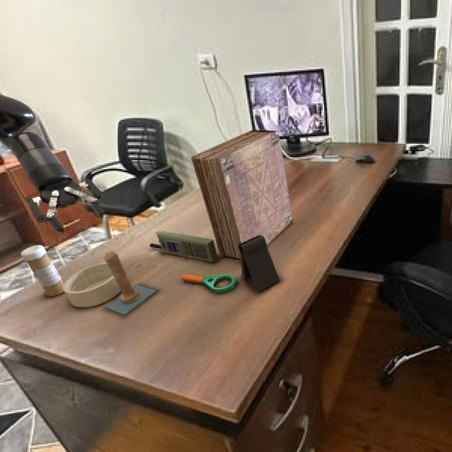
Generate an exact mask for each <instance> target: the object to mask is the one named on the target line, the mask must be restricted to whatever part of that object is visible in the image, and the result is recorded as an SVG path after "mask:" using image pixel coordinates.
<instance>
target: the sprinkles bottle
mask: <svg viewBox="0 0 452 452" xmlns="http://www.w3.org/2000/svg"><path fill="white" fill-rule="evenodd" d="M44 247H45V246H43V245H40V244H37V245H33V246H30V247H27V248H25V249H24V250H22V251H21V252H20V256H21V257H22V259H23V261H25V262H26V264H27V265H28V267H29V268H30V270H31V271H32V273H33V274H34V276H35V278H36V280H37V282H38V283H39V285H40V286H41V287H42V288H43V290H44V292H45V293H46V295H47V296H48V297H55V296H58V295H61V294H62V293H63V292H64V290H63V285H64V283H65V281H63V279H62V277H61V275H60V274H59V272H58V270H57V268H56V267H55V265H54V264H53V262H52V260H51V259H50V257H49V256H48V254H47V250H46V249H45V248H44Z"/></svg>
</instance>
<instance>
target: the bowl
mask: <svg viewBox="0 0 452 452" xmlns="http://www.w3.org/2000/svg"><path fill="white" fill-rule="evenodd" d="M63 290H64V291H63V292H64V294H65V295H66V297H67V298H68V300H69V302H70V303H71V305H72V306H73V307H76V308H92V307H96V306H99V305H102V304H104V303H106V302H108V301H110V300H112V299H113V298H115V297H116V296H117V295H119V294H120V293H121V290H120V288H119V286H118V284H117V282H116V280H115V279H114V277H113V275H112V273H111V271H110V269H109V267H108V265H107V263H106V261H105V262H100V263H95V264H92V265H89V266H87V267H85V268H83V269H80V270H79V271H77V272H74V274H72V275H70V277H68V278H67V279H66V280H65V281H64V285H63Z"/></svg>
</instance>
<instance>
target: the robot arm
mask: <svg viewBox="0 0 452 452" xmlns="http://www.w3.org/2000/svg"><path fill="white" fill-rule="evenodd" d="M36 121H37V116H36V114H35V111H34V110H33V109H32V108H31V107H30V106H29V105H27V104H26V103H24V102H22V101H21V100H19V99H16V98H13V97H10V96H7V95H4V94H1V93H0V143H1V144H3V146H5V147H6V148H7V149H8V150H9V151H10V152H11V153H12V154H13V156H14V157H15V159H16V160H17V162H18V163H19V165H20V167H21V169H22V171H23V172H24V174H25V177H26V178H28V180H29V181H30V182H31V184H32V186H33V187H34V188H35V190H36V191H37V193H38V194H39V196H36V197H33V198H32V197H31V196H28V197H26V198H25V202H26V204H27V206H28V209H30V211H31V213H32V215H33V216H34V218H35V220H36V222H37V223H38V224H43V223H46V222H47V223H49V224H50V226H51V227H52V228H53V230H54V231H55V232H56V233H60V234H65V233H66V231H65V229H64V227H63V225H62V224H61V222H60V221H59V220H58V218H57V217H56V216H57V214H58V211H59V209H65V208H67V207H69V206H73V205H76V204H77V203H80V204H82V205H89V206H91V209H92V210H93V211H94V213H95V214H96V216H97V218H99V219H103V218H104V215H105V211H104V209H103V208H102V206H101V205H100V203H101V202H103V201H104V198H103V196H104V195H103V193H102V192H101V190H99V188H98V186H96V184H95V183H94V182H93V181H92V180H91V179H90V178H86V179H84V181H82V182H81V183H77V182H76V181H75V180H74V179H73V177H72V176H71V175H70V173H69V172H68V171H67V169H66V167H65V166H64V165H63V163H62V162H61V160H60V159H59V158H58V157H57V156H56V155H55V154H54V152H53V150H52V149H50V147H49V146H48V144H47V143H46V142H45V140H44V139H43V137H42V136H41V135H39V134H38V133H36V132H32V131H27V130H28V129H30V127H31V126H33V125H34V124H35V123H36ZM82 189H84V190H85V191H89V192H90V193H91V194H92V196H91V195H89V194H87V193H86V192H83V191H82ZM41 203H44V204H47V205H48V207H47V211H46V214H44V213H43V214H42V213H41V211H40V209H39V207H40V206H41Z"/></svg>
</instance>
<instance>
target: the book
mask: <svg viewBox="0 0 452 452" xmlns="http://www.w3.org/2000/svg"><path fill="white" fill-rule="evenodd" d="M190 159H191V162H192V166H193V169H194V173H195V176H196V179H197V183H198V186H199V189H200V193H201V196H202V199H203V202H204V207H205V209H206V213H207V215H208V219H209V223H210V226H211V228H212V232H213V236H214V239H215V243H216V246H217V250H218V252H219V256H220V258H224V257H225V256H226V257H230V258H235V259H238V260H241V258H240V251H239V248H238V244H240V243H243V242H245V241H247V240H249V239H251V238H253V237H256V236H258V235H260V234H261V236H264V238H265V240H266V245H267V246H268V245H269V243H271V241H273V240H274V239H275V238H276V237H278V236H279V234H281V232H283V231H284V230H285V229H286V228H287V227H288V226H289V225H290V224H292V223H293V222H294V216H293V210H292V204H291V198H290V192H289V188H288V182H287V174H286V170H285V163H284V157H283V152H282V145H281V139H280V134H279V130H265V129H251V130H249V131H247V132H244V133H242V134H240V135H237V136H235V137H233V138H230V139H228V140H226V141H223V142H221V143H219V144H217V145H214V146H212V147H209V148H208V149H204V151H200V152H199V153H196V154H193V155H192V156H191V158H190ZM261 236H260V237H261Z"/></svg>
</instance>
